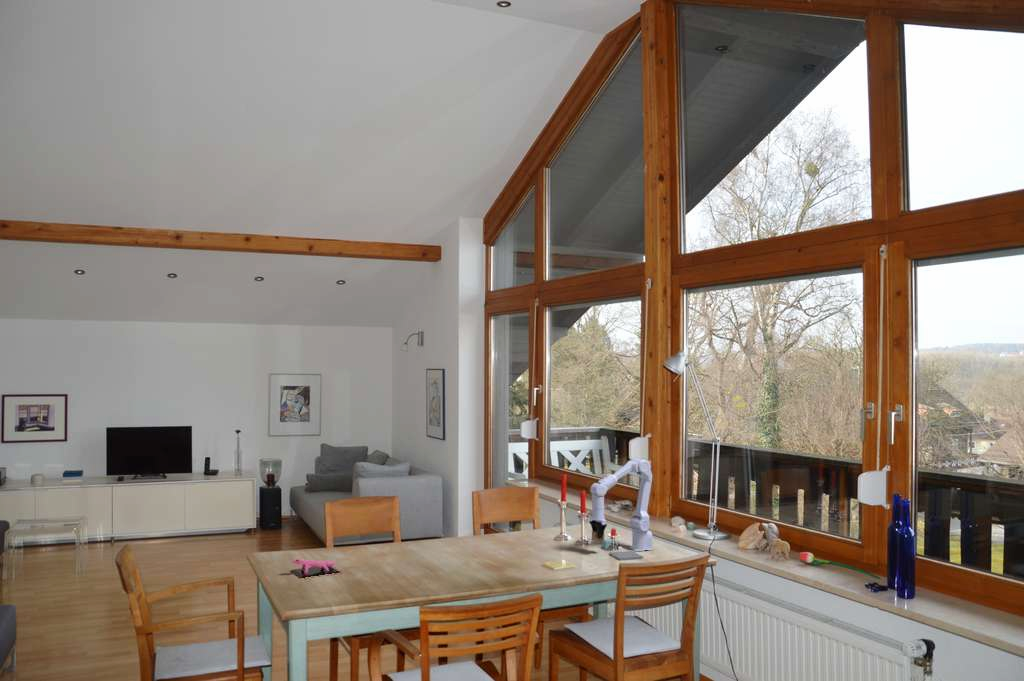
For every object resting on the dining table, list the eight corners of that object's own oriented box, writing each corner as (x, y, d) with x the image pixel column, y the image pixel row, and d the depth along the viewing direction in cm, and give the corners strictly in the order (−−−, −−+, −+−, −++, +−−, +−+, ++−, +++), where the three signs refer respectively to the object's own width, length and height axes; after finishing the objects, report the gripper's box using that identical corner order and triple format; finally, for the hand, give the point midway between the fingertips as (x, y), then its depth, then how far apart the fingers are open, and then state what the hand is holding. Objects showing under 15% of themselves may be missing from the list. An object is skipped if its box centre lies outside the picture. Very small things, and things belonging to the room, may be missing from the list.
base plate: (632, 553, 397) (632, 550, 397) (643, 558, 385) (643, 556, 385) (609, 554, 393) (609, 552, 393) (619, 560, 382) (619, 558, 382)
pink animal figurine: (286, 573, 357) (286, 556, 358) (331, 567, 368) (331, 550, 368) (297, 580, 345) (297, 563, 345) (342, 574, 356) (343, 557, 356)
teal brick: (610, 547, 409) (610, 539, 409) (614, 549, 405) (614, 541, 405) (602, 548, 408) (602, 539, 408) (606, 550, 403) (606, 541, 403)
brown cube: (600, 538, 399) (600, 530, 399) (604, 540, 394) (604, 532, 395) (591, 539, 397) (591, 531, 397) (595, 541, 393) (595, 533, 393)
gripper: (584, 506, 402) (584, 534, 402) (596, 511, 388) (596, 540, 388) (598, 505, 404) (597, 533, 404) (610, 510, 390) (610, 539, 390)
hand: (598, 537), depth 396 cm, fingers closed on brown cube, 4 cm apart
